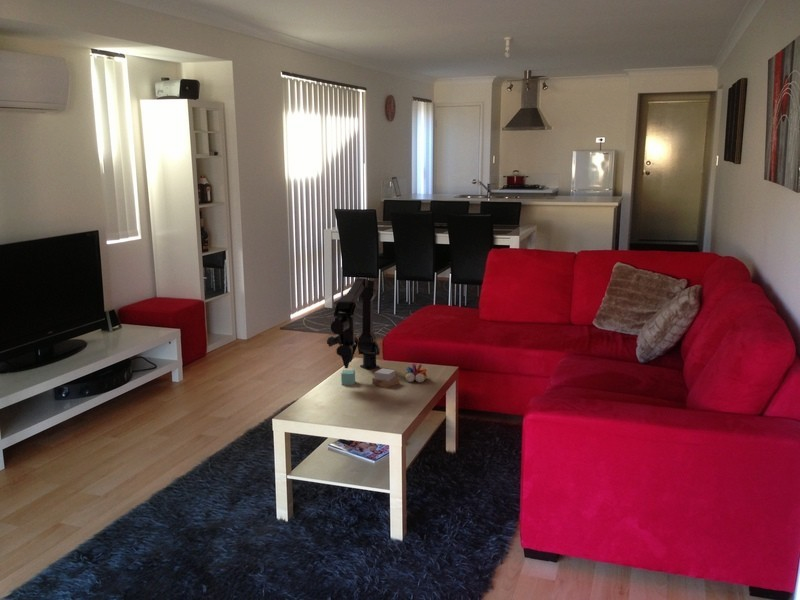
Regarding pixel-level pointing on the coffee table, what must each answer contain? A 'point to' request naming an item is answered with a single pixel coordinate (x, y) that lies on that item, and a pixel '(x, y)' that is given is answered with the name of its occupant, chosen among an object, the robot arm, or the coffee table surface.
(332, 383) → the coffee table surface
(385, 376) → the tower mid
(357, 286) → the robot arm
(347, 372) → the teal cube
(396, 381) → the tower base
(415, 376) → the rainbow segmented toy
